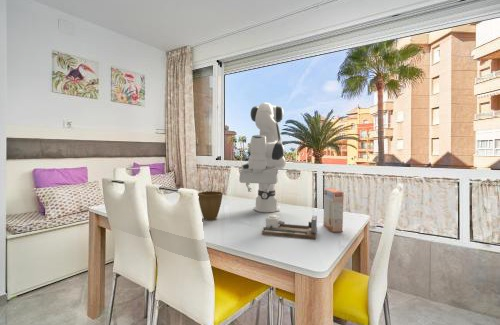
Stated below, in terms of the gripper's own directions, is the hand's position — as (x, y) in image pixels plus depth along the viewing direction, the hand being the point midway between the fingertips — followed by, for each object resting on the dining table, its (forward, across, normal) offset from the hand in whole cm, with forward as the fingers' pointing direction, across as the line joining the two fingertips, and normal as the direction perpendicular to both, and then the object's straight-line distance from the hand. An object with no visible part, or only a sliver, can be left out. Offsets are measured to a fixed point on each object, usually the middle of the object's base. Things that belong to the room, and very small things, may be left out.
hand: (258, 191), depth 144 cm
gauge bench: (+20, -17, 0) cm, 26 cm away
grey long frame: (+19, -17, 0) cm, 25 cm away
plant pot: (+20, +33, -12) cm, 41 cm away
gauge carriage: (+18, -10, +1) cm, 20 cm away
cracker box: (+20, -38, -14) cm, 45 cm away
